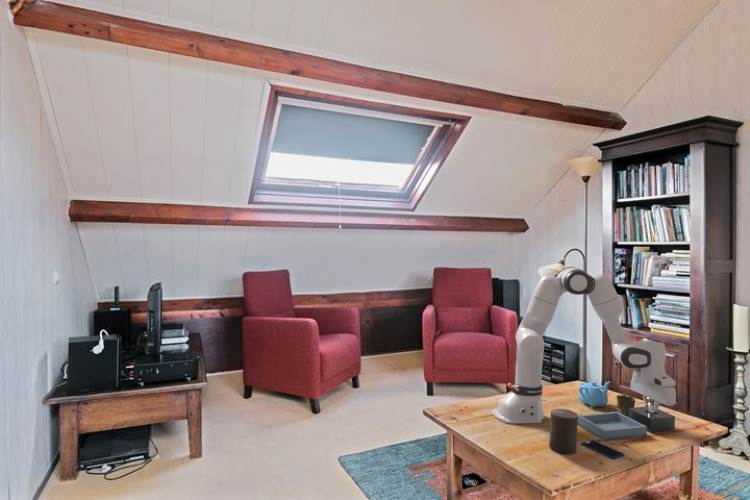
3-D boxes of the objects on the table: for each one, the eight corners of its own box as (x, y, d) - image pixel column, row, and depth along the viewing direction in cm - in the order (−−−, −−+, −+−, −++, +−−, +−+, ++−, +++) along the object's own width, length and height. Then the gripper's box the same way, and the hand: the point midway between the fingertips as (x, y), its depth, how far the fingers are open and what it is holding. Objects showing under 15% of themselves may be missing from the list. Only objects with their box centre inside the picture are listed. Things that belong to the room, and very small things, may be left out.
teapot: (576, 406, 221) (577, 383, 220) (581, 396, 233) (581, 374, 232) (605, 412, 214) (606, 389, 213) (609, 401, 226) (610, 379, 225)
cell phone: (592, 441, 184) (592, 439, 184) (625, 456, 172) (625, 454, 172) (579, 445, 180) (579, 443, 180) (612, 460, 168) (613, 458, 168)
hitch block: (650, 433, 191) (651, 418, 191) (628, 421, 203) (628, 408, 202) (674, 430, 194) (675, 416, 194) (650, 419, 206) (651, 405, 205)
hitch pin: (650, 428, 196) (651, 399, 195) (643, 424, 200) (644, 396, 199) (658, 427, 197) (659, 399, 196) (650, 423, 201) (651, 395, 200)
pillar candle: (563, 456, 170) (564, 416, 169) (543, 445, 179) (545, 406, 178) (582, 452, 174) (584, 412, 173) (562, 441, 183) (564, 403, 182)
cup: (637, 418, 206) (637, 400, 206) (619, 417, 208) (619, 399, 207) (631, 412, 214) (632, 395, 213) (614, 410, 215) (614, 393, 215)
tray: (604, 441, 183) (604, 431, 183) (577, 424, 199) (577, 415, 199) (646, 436, 188) (646, 426, 188) (616, 420, 204) (617, 411, 203)
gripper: (627, 369, 207) (626, 400, 207) (666, 384, 187) (665, 418, 187) (639, 368, 208) (638, 399, 209) (679, 383, 188) (678, 416, 189)
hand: (651, 408), depth 198 cm, fingers closed on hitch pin, 2 cm apart
